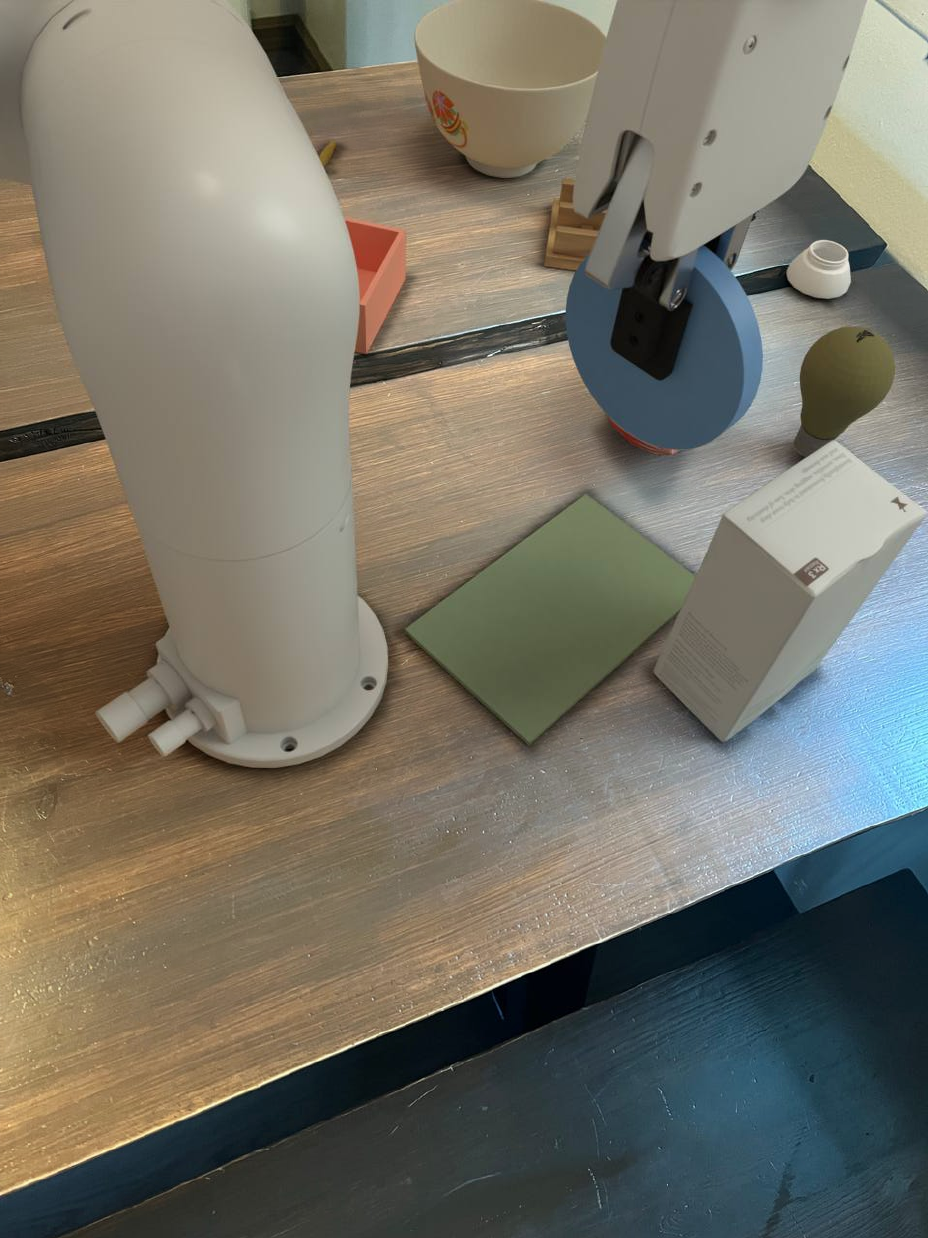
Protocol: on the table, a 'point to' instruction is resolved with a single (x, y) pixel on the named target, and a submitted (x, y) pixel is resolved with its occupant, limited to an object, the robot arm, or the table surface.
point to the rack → (570, 231)
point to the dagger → (327, 153)
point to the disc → (703, 371)
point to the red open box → (376, 274)
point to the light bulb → (841, 384)
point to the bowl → (507, 79)
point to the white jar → (821, 270)
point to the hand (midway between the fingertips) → (655, 350)
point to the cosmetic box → (782, 585)
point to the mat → (553, 616)
